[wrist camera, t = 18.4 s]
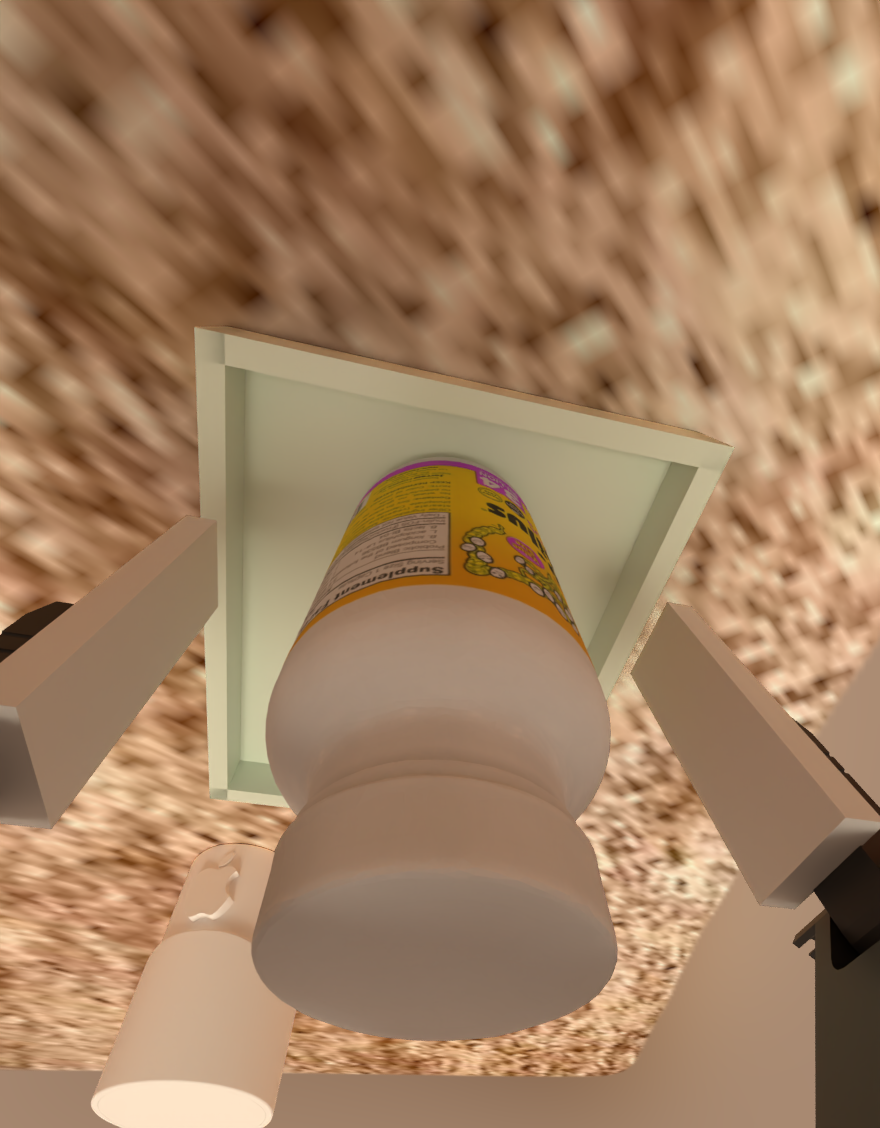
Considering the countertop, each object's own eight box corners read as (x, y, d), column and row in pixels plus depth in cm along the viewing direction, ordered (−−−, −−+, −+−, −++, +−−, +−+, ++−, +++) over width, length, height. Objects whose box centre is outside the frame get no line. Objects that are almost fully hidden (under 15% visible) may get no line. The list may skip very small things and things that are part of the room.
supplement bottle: (551, 584, 18) (725, 1040, 7) (395, 631, 19) (324, 1086, 8) (501, 419, 15) (668, 750, 4) (320, 487, 16) (37, 891, 5)
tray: (226, 325, 14) (194, 326, 12) (698, 431, 16) (734, 447, 14) (228, 758, 24) (209, 798, 22) (529, 797, 25) (537, 837, 23)
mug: (41, 1083, 19) (229, 1068, 18) (161, 850, 27) (292, 835, 27) (167, 1163, 24) (314, 1153, 24) (234, 949, 33) (344, 939, 32)
